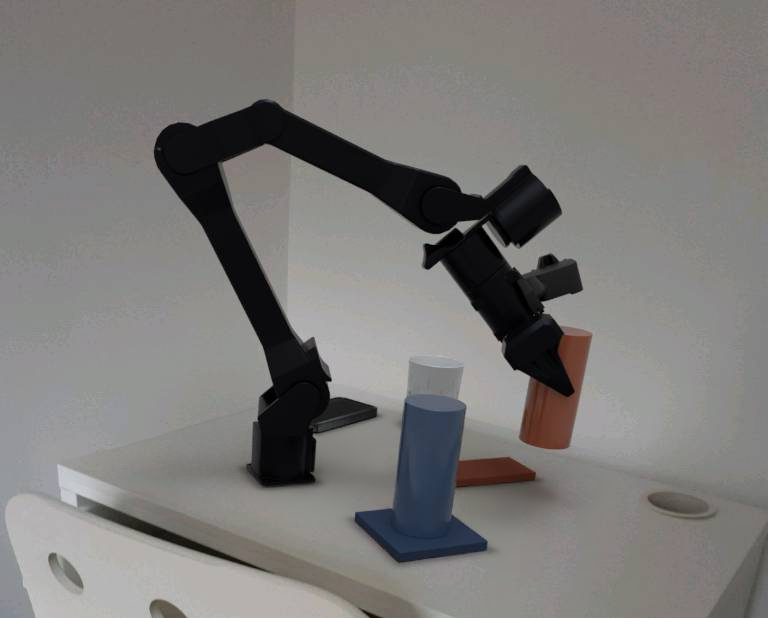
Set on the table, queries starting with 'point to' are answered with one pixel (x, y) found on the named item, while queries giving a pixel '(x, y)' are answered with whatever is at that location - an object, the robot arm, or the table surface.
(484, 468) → the terracotta mat
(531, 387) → the terracotta cylinder
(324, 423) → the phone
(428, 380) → the white cup
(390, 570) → the table surface
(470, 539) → the blue mat
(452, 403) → the blue cylinder
